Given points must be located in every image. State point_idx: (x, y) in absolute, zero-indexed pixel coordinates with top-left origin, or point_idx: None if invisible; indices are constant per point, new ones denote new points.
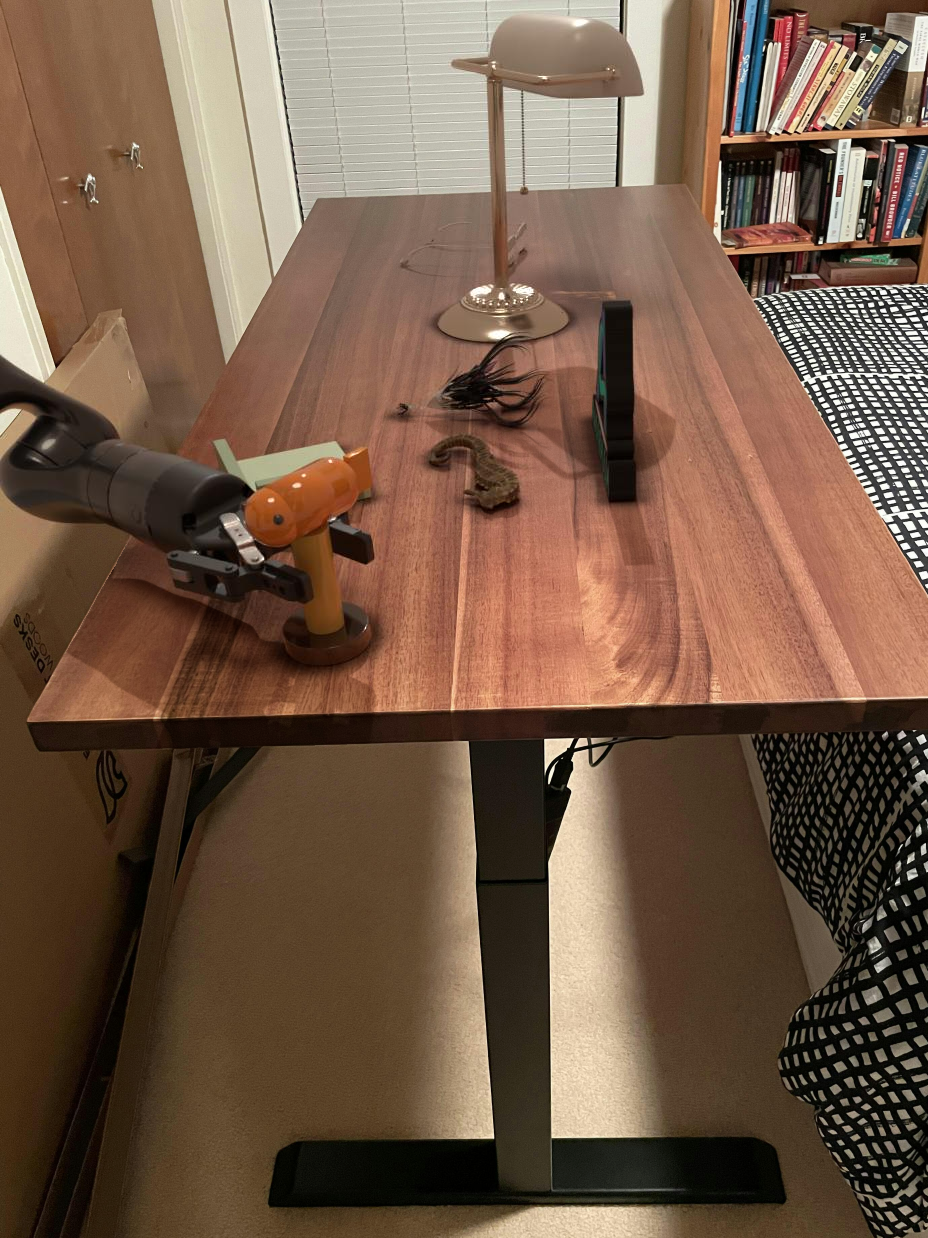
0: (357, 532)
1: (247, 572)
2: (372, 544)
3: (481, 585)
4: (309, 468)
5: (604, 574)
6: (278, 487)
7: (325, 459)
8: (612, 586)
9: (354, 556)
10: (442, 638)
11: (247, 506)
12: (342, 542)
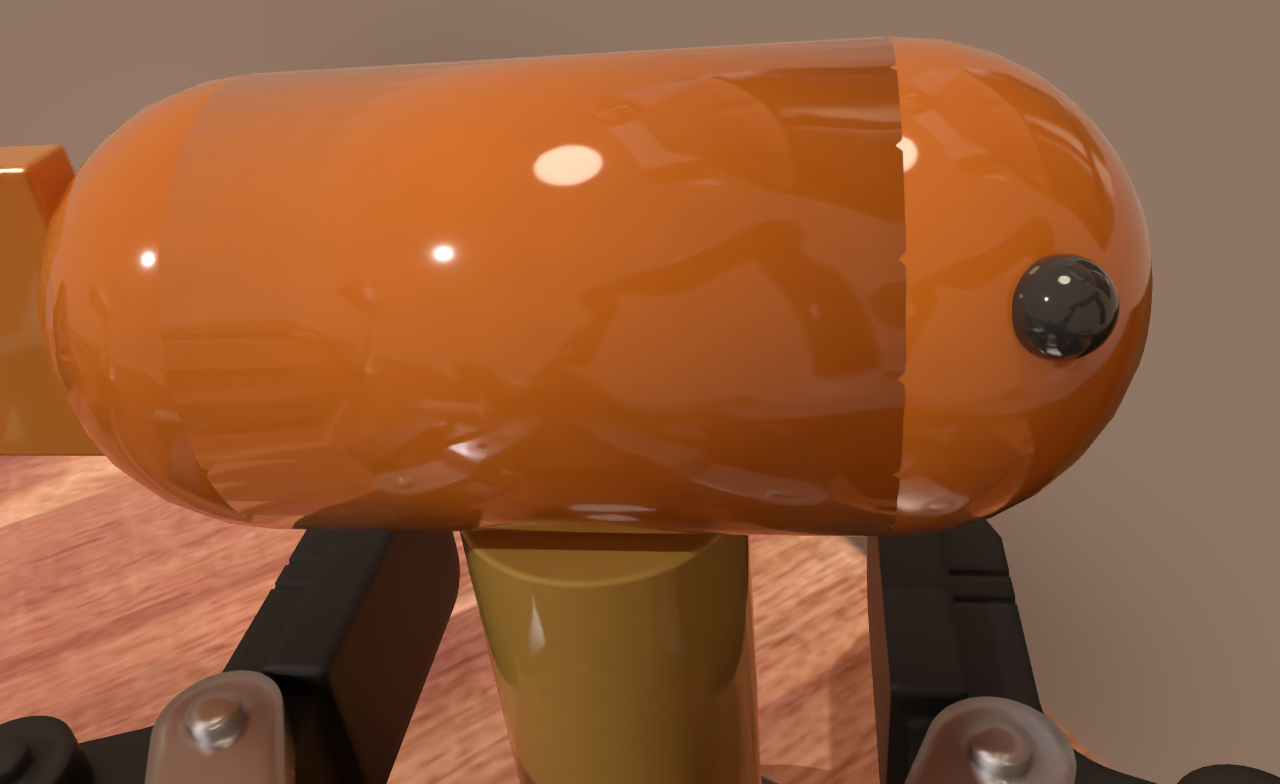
0: None
1: (1110, 777)
2: None
3: (81, 709)
4: (414, 75)
5: (6, 481)
6: (820, 41)
7: (222, 85)
8: None
9: (428, 634)
10: (468, 644)
11: (1107, 187)
12: (386, 649)
